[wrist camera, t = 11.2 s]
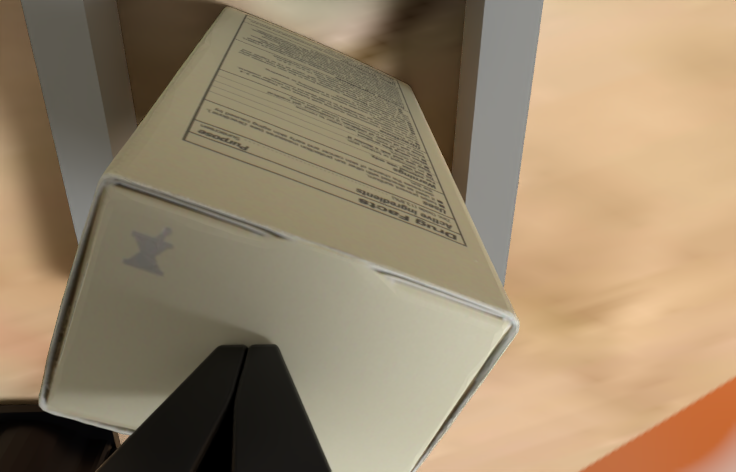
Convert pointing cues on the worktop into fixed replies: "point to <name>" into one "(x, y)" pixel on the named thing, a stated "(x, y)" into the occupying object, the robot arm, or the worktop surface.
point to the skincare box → (283, 252)
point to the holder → (118, 122)
